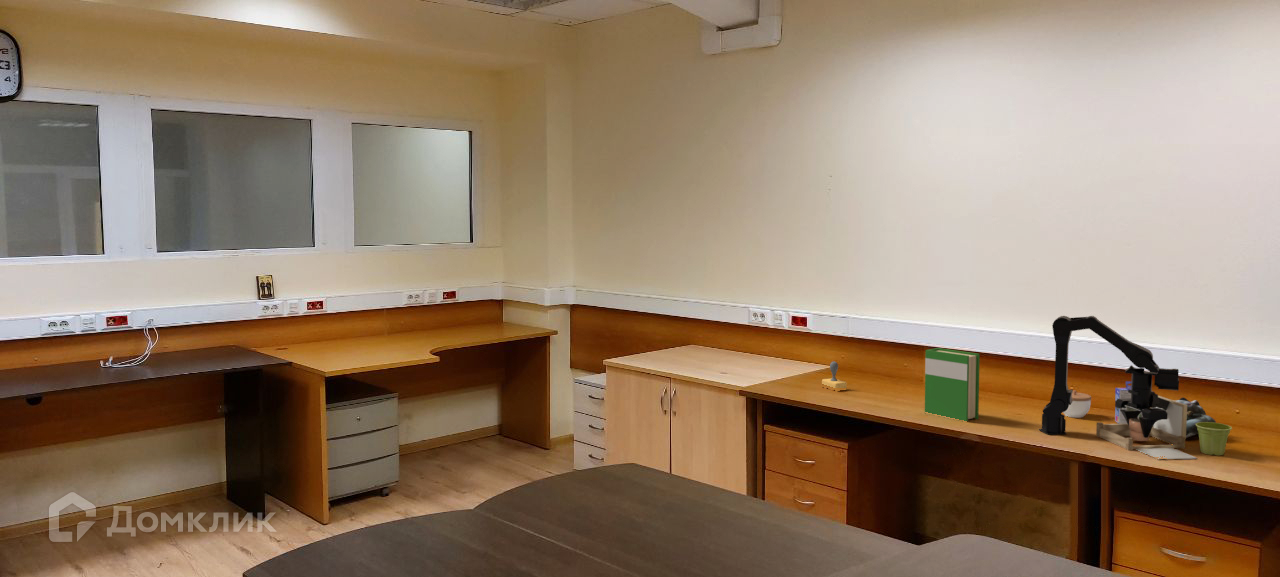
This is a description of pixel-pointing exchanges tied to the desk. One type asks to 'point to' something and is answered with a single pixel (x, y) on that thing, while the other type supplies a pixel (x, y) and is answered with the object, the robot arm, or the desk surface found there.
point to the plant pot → (1213, 437)
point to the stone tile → (1166, 453)
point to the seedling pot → (1136, 429)
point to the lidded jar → (1078, 405)
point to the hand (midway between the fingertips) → (1139, 434)
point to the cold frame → (1118, 430)
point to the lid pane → (1174, 419)
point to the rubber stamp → (834, 378)
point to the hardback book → (952, 383)
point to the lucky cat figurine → (1194, 416)
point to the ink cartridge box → (1122, 394)
